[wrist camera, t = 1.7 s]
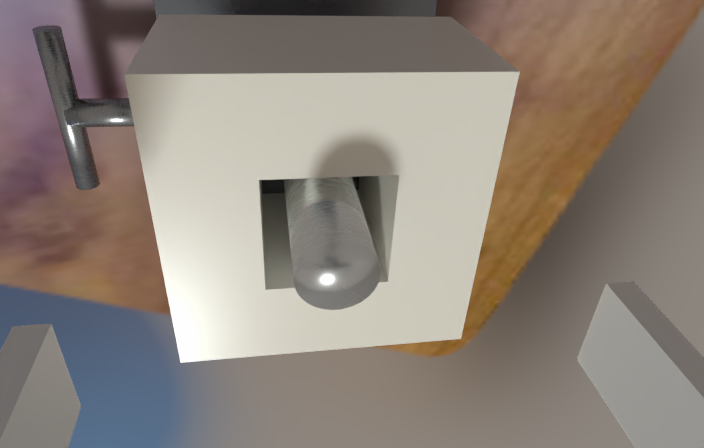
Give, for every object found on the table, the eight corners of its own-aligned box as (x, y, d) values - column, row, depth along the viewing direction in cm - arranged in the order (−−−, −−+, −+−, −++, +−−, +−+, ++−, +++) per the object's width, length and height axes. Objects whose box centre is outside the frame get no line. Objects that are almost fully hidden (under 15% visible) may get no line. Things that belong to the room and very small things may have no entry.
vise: (32, -82, 21) (-258, 0, 9) (431, -68, 24) (620, 10, 12) (106, 213, 29) (2, 469, 17) (401, 200, 32) (496, 415, 19)
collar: (159, 14, 18) (123, 74, 13) (451, 16, 19) (519, 71, 14) (195, 256, 23) (180, 362, 18) (419, 243, 25) (460, 338, 20)
